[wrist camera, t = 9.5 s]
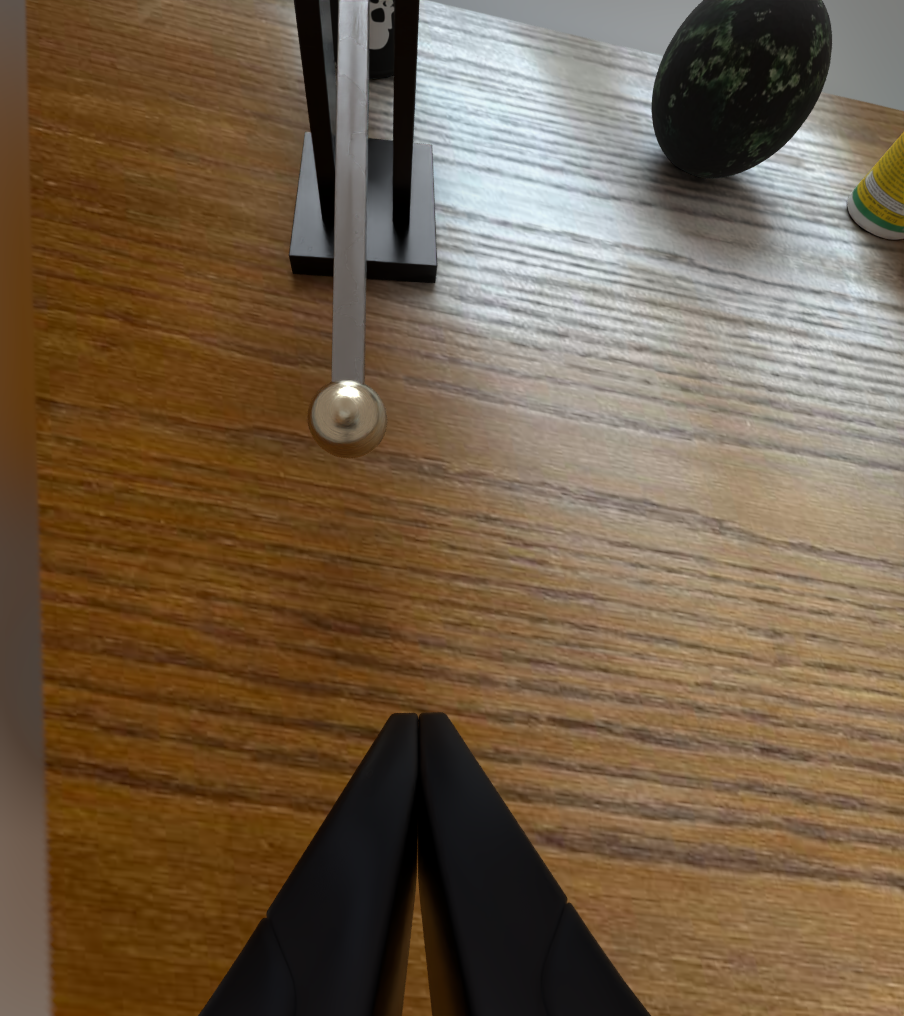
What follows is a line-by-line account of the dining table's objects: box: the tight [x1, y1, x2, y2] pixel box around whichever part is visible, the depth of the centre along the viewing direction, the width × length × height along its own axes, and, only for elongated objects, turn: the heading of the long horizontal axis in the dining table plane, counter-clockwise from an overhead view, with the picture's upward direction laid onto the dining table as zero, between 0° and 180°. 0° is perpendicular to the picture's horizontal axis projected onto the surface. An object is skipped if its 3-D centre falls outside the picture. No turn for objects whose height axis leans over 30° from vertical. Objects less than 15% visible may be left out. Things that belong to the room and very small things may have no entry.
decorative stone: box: [652, 0, 832, 178], centre depth 32 cm, size 10×10×10 cm
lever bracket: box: [289, 0, 437, 283], centre depth 24 cm, size 11×8×14 cm
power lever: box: [308, 0, 387, 458], centre depth 18 cm, size 23×3×3 cm, turn 2°
